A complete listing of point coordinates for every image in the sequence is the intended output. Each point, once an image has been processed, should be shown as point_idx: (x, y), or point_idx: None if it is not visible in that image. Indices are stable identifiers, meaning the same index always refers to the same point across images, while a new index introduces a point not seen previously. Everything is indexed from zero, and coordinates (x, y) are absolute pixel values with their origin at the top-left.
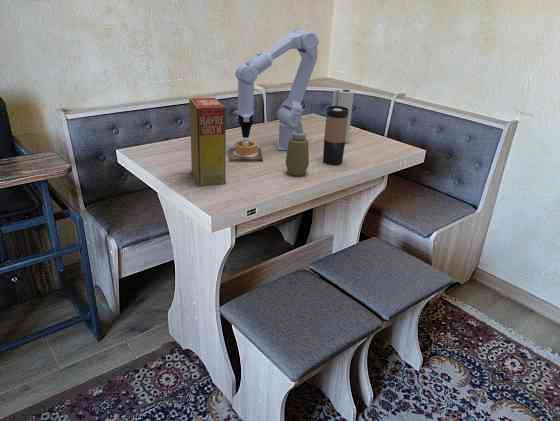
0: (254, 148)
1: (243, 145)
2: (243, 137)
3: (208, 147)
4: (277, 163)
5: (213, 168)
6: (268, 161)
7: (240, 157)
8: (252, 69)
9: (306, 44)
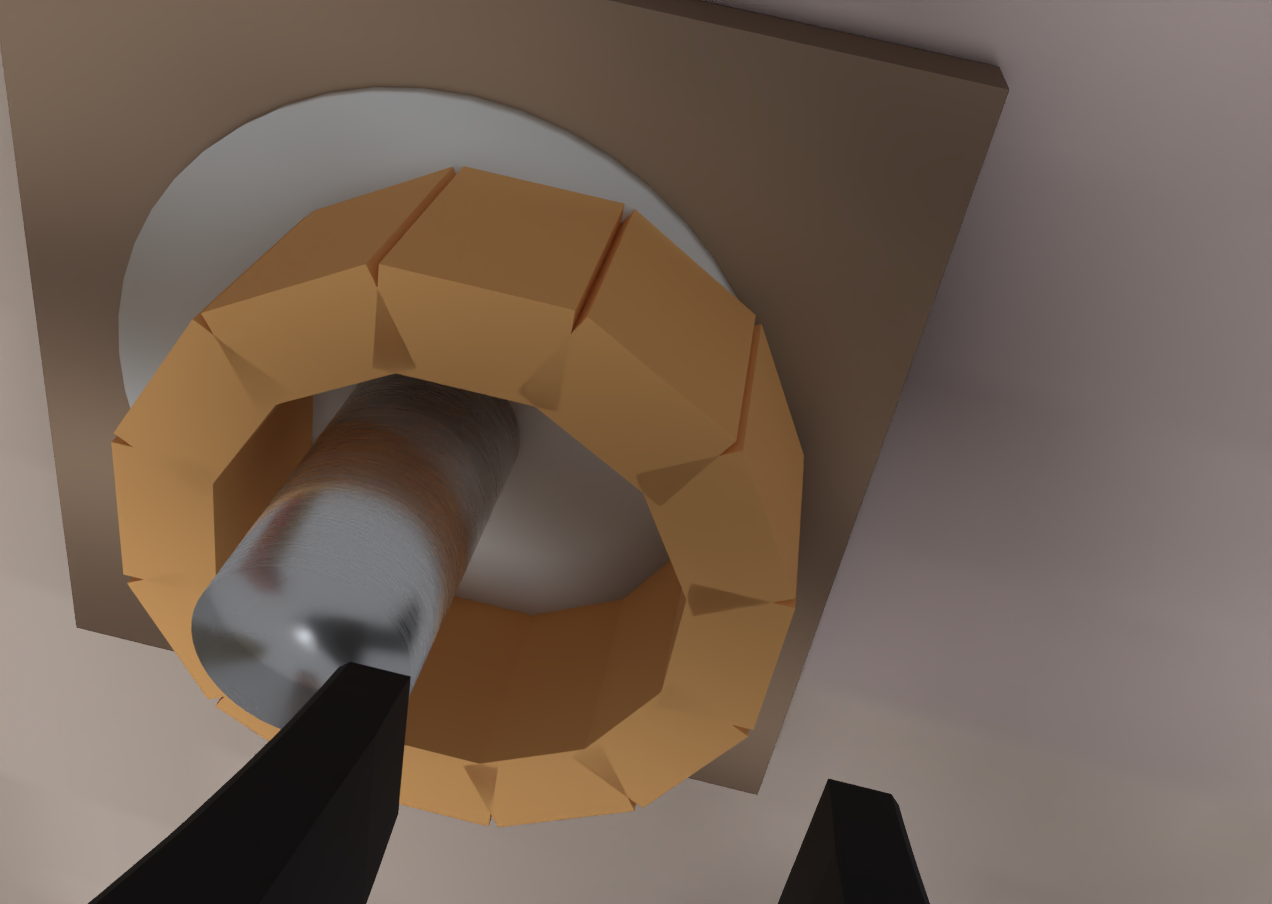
0: None
1: (285, 486)
2: (329, 679)
3: None
4: (51, 762)
5: None
6: (135, 678)
7: (130, 212)
8: None
9: None
